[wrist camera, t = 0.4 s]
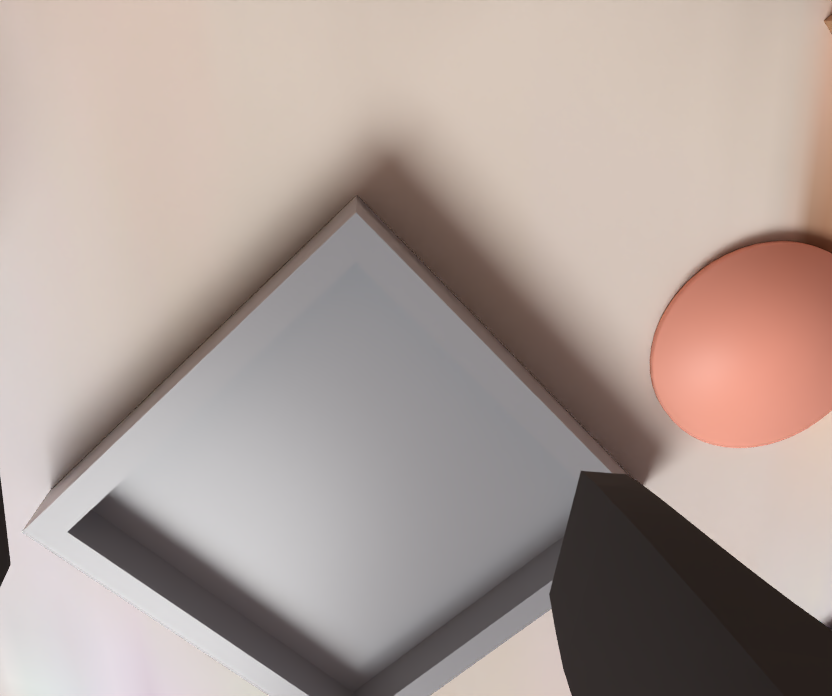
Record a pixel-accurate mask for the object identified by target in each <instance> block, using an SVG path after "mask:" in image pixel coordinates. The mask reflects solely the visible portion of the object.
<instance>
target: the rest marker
mask: <svg viewBox="0 0 832 696" xmlns="http://www.w3.org/2000/svg"><path fill="white" fill-rule="evenodd" d="M650 374H651V380H652V385H653V388H654V391H655V394H656V397H657V398H658V400H659V402H660V404H661V406H662V407H663V409H664V410H665V411H666V413H667V414H668V415H669V417H670V418H671V419H672V420H673V421H674V422H675V423H676V424H677V425H678V426H679V427H680V428H681V429H682V430H684V431H685V432H687V433H688V434H689V435H691V436H693V437H695V438H697V439H699V440H701V441H703V442H707V443H710V444H713V445H717V446H723V447H732V448H747V447H757V446H763V445H768V444H771V443H775V442H778V441H781V440H784V439H786V438H789V437H791V436H794V435H796V434H798V433H800V432H801V431H803V430H805V429H807V428H809V427H810V426H812V425H813V424H815V423H816V422H818V421H819V420H820V419H822V418H823V417H824V416H826V415H827V414H828V413H829V412H830V411H831V410H832V253H830V252H828V251H825V250H823V249H821V248H818V247H816V246H813V245H809V244H805V243H801V242H792V241H771V242H764V243H759V244H754V245H750V246H747V247H744V248H740V249H738V250H735V251H733V252H731V253H728V254H726V255H724V256H722V257H721V258H719V259H717V260H715V261H714V262H712V263H710V264H709V265H707V266H706V267H705V268H703V269H702V270H701V271H699V272H698V273H697V274H696V275H695V276H693V277H692V278H691V279H690V280H689V281H688V282H687V283H686V284H685V285H684V286H683V287H682V288H681V289H680V291H679V292H678V293H677V294H676V295H675V297H674V298H673V299H672V301H671V302H670V304H669V305H668V307H667V308H666V310H665V312H664V314H663V316H662V317H661V319H660V321H659V324H658V326H657V329H656V332H655V334H654V338H653V342H652V346H651V354H650Z"/></svg>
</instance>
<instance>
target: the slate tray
mask: <svg viewBox="0 0 832 696" xmlns="http://www.w3.org/2000/svg"><path fill="white" fill-rule="evenodd" d="M581 471H591V472H604V473H617V474H627V473H626V472H625V471H624V470H623V469H622V468H621V467H620V466H619V464H618V463H617V462H616V461H615V460H614V459H613V458H612V457H611V456H610V455H609V454H608V453H607V452H606V451H605V450H604V449H603V448H602V447H601V446H600V445H599V444H598V443H597V442H596V441H595V440H594V439H593V438H592V437H591V436H590V435H589V434H588V433H587V432H586V430H585V429H584V428H583V427H582V426H581V425H580V424H579V423H578V422H577V421H576V420H575V419H574V418H573V417H572V416H571V415H570V414H569V413H568V412H567V411H566V410H565V409H564V408H563V407H562V406H561V405H560V404H559V403H558V402H557V401H556V400H555V399H554V398H553V397H552V395H551V394H550V393H549V392H548V391H547V390H546V389H545V388H544V387H543V386H542V385H541V384H540V383H539V382H538V381H537V380H536V379H535V378H534V377H533V376H532V375H531V374H530V373H529V372H528V371H527V370H526V369H525V368H524V367H523V366H522V365H521V364H520V363H519V361H518V360H517V359H516V358H515V357H514V356H513V355H512V354H511V353H510V352H509V351H508V350H507V349H506V348H505V347H504V346H503V345H502V344H501V343H500V342H499V341H498V340H497V339H496V338H495V337H494V336H493V335H492V334H491V333H490V332H489V331H488V330H487V329H486V328H485V326H484V325H483V324H482V323H481V322H480V321H479V320H478V319H477V318H476V317H475V316H474V315H473V314H472V313H471V312H470V311H469V310H468V309H467V308H466V307H465V306H464V305H463V304H462V303H461V302H460V301H459V300H458V299H457V298H456V297H455V296H454V295H453V294H452V292H451V291H450V290H449V289H448V288H447V287H446V286H445V285H444V284H443V283H442V282H441V281H440V280H439V279H438V278H437V277H436V276H435V275H434V274H433V273H432V272H431V271H430V270H429V269H428V268H427V267H426V266H425V265H424V264H423V263H422V262H421V261H420V260H419V259H418V257H417V256H416V255H415V254H414V253H413V252H412V251H411V250H410V249H409V248H408V247H407V246H406V245H405V244H404V243H403V242H402V241H401V240H400V239H399V238H398V237H397V236H396V235H395V234H394V233H393V232H392V231H391V230H390V229H389V228H388V227H387V226H386V225H385V224H384V222H383V221H382V220H381V219H380V218H379V217H378V216H377V215H376V214H375V213H374V212H373V211H372V210H371V209H370V208H369V207H368V206H367V205H366V204H365V203H364V202H363V201H362V200H361V199H360V198H359V197H358V196H357V195H356V196H355V197H354V198H353V199H352V200H351V201H350V202H349V203H348V204H347V205H346V206H345V207H344V208H343V209H342V210H341V211H340V212H339V213H338V214H337V215H336V216H335V217H334V218H333V219H332V220H330V221H329V222H328V223H327V224H326V225H325V226H324V227H323V228H322V229H321V230H320V231H319V232H318V233H317V234H316V235H315V236H314V237H313V238H312V239H311V240H310V241H309V242H308V243H307V244H306V245H305V246H304V247H302V248H301V249H300V250H299V251H298V252H297V253H296V254H295V255H294V256H293V257H292V258H291V259H290V260H289V261H288V262H287V263H286V264H285V265H284V266H283V267H282V268H281V269H280V270H279V271H278V272H277V273H276V274H274V275H273V276H272V277H271V278H270V279H269V280H268V281H267V282H266V283H265V284H264V285H263V286H262V287H261V288H260V289H259V290H258V291H257V292H256V293H255V294H254V295H253V296H252V297H251V298H250V299H249V300H248V301H246V302H245V303H244V304H243V305H242V306H241V307H240V308H239V309H238V310H237V311H236V312H235V313H234V314H233V315H232V316H231V317H230V318H229V319H228V320H227V321H226V322H225V323H224V324H223V325H222V326H221V327H220V328H218V329H217V330H216V331H215V332H214V333H213V334H212V335H211V336H210V337H209V338H208V339H207V340H206V341H205V342H204V343H203V344H202V345H201V346H200V347H199V348H198V349H197V350H196V351H195V352H194V353H193V354H192V355H190V356H189V357H188V358H187V359H186V360H185V361H184V362H183V363H182V364H181V365H180V366H179V367H178V368H177V369H176V370H175V371H174V372H173V373H172V374H171V375H170V376H169V377H168V378H167V379H166V380H165V381H163V382H162V383H161V384H160V385H159V386H158V387H157V388H156V389H155V390H154V391H153V392H152V393H151V394H150V395H149V396H148V397H147V398H146V399H145V400H144V401H143V402H142V403H141V404H140V405H139V406H138V407H137V408H135V409H134V410H133V411H132V412H131V413H130V414H129V415H128V416H127V417H126V418H125V419H124V420H123V421H122V422H121V423H120V424H119V425H118V426H117V427H116V428H115V429H114V430H113V431H112V432H111V433H110V434H109V435H107V436H106V437H105V438H104V439H103V440H102V441H101V442H100V443H99V444H98V445H97V446H96V447H95V448H94V449H93V450H92V451H91V452H90V453H89V454H88V455H87V456H86V457H85V458H84V459H83V460H82V461H81V462H79V463H78V464H77V465H76V466H75V467H74V468H73V469H72V470H71V471H70V472H69V473H68V474H67V475H66V476H65V477H64V478H63V479H62V480H61V481H60V482H59V483H58V484H57V485H56V486H55V487H54V488H53V489H51V490H50V491H49V493H48V494H47V496H46V497H45V499H44V500H43V502H42V503H41V505H40V506H39V508H38V509H37V510H36V512H35V513H34V515H33V516H32V518H31V519H30V521H29V522H28V524H27V525H26V527H25V528H24V530H23V531H22V533H23V534H25V535H26V536H28V537H29V538H31V539H32V540H34V541H35V542H37V543H38V544H40V545H41V546H43V547H44V548H46V549H47V550H49V551H50V552H52V553H53V554H55V555H56V556H58V557H60V558H61V559H63V560H64V561H66V562H67V563H69V564H70V565H72V566H73V567H75V568H76V569H78V570H79V571H81V572H82V573H84V574H85V575H87V576H88V577H90V578H91V579H93V580H94V581H96V582H97V583H99V584H100V585H102V586H103V587H105V588H106V589H108V590H110V591H111V592H113V593H114V594H116V595H117V596H119V597H120V598H122V599H123V600H125V601H126V602H128V603H129V604H131V605H132V606H134V607H135V608H137V609H138V610H140V611H141V612H143V613H144V614H146V615H147V616H149V617H150V618H152V619H153V620H155V621H156V622H158V623H159V624H161V625H163V626H164V627H166V628H167V629H169V630H170V631H172V632H173V633H175V634H176V635H178V636H179V637H181V638H182V639H184V640H185V641H187V642H188V643H190V644H191V645H193V646H194V647H196V648H197V649H199V650H200V651H202V652H203V653H205V654H206V655H208V656H209V657H211V658H212V659H214V660H216V661H217V662H219V663H220V664H222V665H223V666H225V667H226V668H228V669H229V670H231V671H232V672H234V673H235V674H237V675H238V676H240V677H241V678H243V679H244V680H246V681H247V682H249V683H250V684H252V685H253V686H255V687H256V688H258V689H259V690H261V691H262V692H264V693H265V694H267V695H269V696H430V695H431V694H433V693H434V692H436V691H437V690H438V689H440V688H441V687H443V686H444V685H445V684H447V683H448V682H450V681H451V680H452V679H454V678H455V677H457V676H458V675H459V674H461V673H462V672H464V671H465V670H466V669H468V668H469V667H471V666H472V665H473V664H475V663H476V662H478V661H479V660H480V659H482V658H483V657H485V656H486V655H487V654H489V653H490V652H492V651H493V650H494V649H496V648H497V647H499V646H500V645H501V644H503V643H504V642H505V641H507V640H508V639H510V638H511V637H512V636H514V635H515V634H517V633H518V632H519V631H521V630H522V629H524V628H525V627H526V626H528V625H529V624H531V623H532V622H533V621H535V620H536V619H538V618H539V617H540V616H542V615H543V614H545V613H546V612H547V611H549V610H550V609H552V608H551V602H550V596H549V593H550V589H551V585H552V581H553V577H554V573H555V570H556V566H557V562H558V558H559V554H560V550H561V546H562V542H563V538H564V535H565V531H566V527H567V523H568V519H569V515H570V511H571V507H572V503H573V499H574V496H575V492H576V488H577V484H578V480H579V476H580V472H581ZM627 475H628V474H627ZM628 476H629V475H628Z"/></svg>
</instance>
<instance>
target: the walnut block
mask: <svg viewBox="0 0 832 696" xmlns="http://www.w3.org/2000/svg"><path fill="white" fill-rule="evenodd" d="M824 22H825V24H826V25H827V27H828V29H829V30H830V32H831V34H832V15H830V16H829V17H828V18H827V19H826V20H825V21H824Z"/></svg>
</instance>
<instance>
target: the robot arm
mask: <svg viewBox="0 0 832 696" xmlns="http://www.w3.org/2000/svg"><path fill="white" fill-rule="evenodd" d="M9 566H10V555H9V547H8V538H7V530H6V521H5V513H4V504H3V496H2V487H1V479H0V586H1V584H2V582H3V580H4V577H5V575H6V573H7V571H8V569H9ZM549 596H550V602H551V608H552V613H553V619H554V624H555V630H556V635H557V640H558V645H559V650H560V655H561V660H562V664H563V669H564V672H565V675H566V679H567V682H568V685H569V688H570V691H571V694H572V696H832V630H831V629H830V628H828V627H827V626H825V625H824V624H823V623H821V622H820V621H818V620H817V619H816V618H814V617H813V616H811V615H810V614H809V613H807V612H806V611H804V610H803V609H802V608H800V607H799V606H797V605H796V604H795V603H793V602H792V601H791V600H789V599H788V598H787V597H785V596H784V595H783V594H781V593H780V592H779V591H777V590H776V589H775V588H773V587H772V586H771V585H769V584H768V583H767V582H765V581H764V580H763V579H761V578H760V577H759V576H758V575H756V574H755V573H754V572H752V571H751V570H750V569H748V568H747V567H746V566H745V565H743V564H742V563H741V562H740V561H738V560H737V559H736V558H734V557H733V556H732V555H731V554H729V553H728V552H727V551H726V550H724V549H723V548H722V547H720V546H719V545H718V544H717V543H715V542H714V541H713V540H712V539H710V538H709V537H708V536H707V535H705V534H704V533H703V532H702V531H700V530H699V529H698V528H697V527H695V526H694V525H693V524H692V523H690V522H689V521H688V520H687V519H685V518H684V517H683V516H682V515H680V514H679V513H678V512H677V511H675V510H674V509H673V508H672V507H670V506H669V505H668V504H667V503H665V502H664V501H663V500H661V499H660V498H659V497H658V496H656V495H655V494H654V493H652V492H651V491H650V490H648V489H647V488H646V487H644V486H643V485H641V484H640V483H639V482H637V481H636V480H634V479H633V478H631V477H630V476H628V475H627V474H617V473H604V472H591V471H581V472H580V476H579V480H578V484H577V488H576V492H575V496H574V499H573V503H572V507H571V511H570V515H569V519H568V523H567V527H566V531H565V535H564V538H563V542H562V546H561V550H560V554H559V558H558V562H557V566H556V570H555V573H554V577H553V581H552V585H551V589H550V593H549Z"/></svg>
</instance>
